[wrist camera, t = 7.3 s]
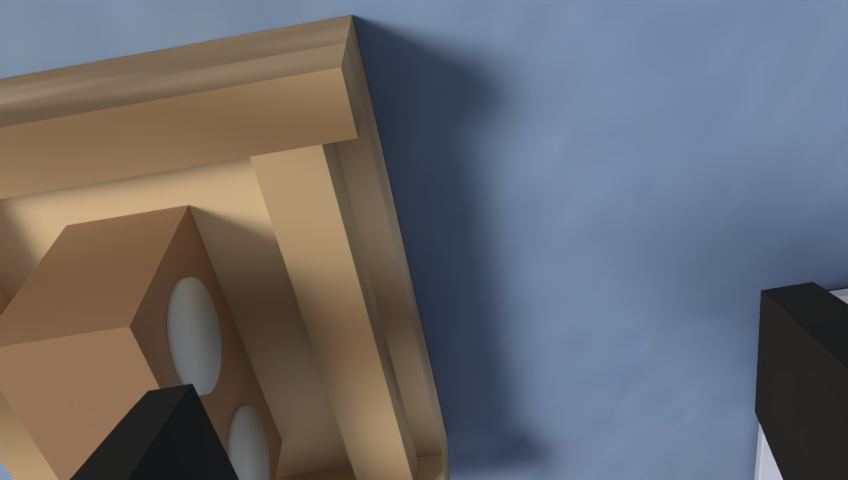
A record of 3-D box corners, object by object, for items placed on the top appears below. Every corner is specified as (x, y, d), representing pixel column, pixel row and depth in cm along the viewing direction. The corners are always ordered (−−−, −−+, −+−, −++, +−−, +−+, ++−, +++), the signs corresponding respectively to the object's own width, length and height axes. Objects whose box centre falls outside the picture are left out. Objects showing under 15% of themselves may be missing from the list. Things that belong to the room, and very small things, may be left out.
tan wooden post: (287, 440, 22) (262, 584, 18) (182, 455, 22) (135, 600, 18) (194, 203, 18) (136, 325, 14) (66, 225, 18) (-25, 350, 14)
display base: (446, 438, 25) (452, 529, 22) (97, 486, 26) (57, 580, 23) (351, 15, 17) (340, 67, 14) (-135, 104, 18) (-239, 170, 15)
